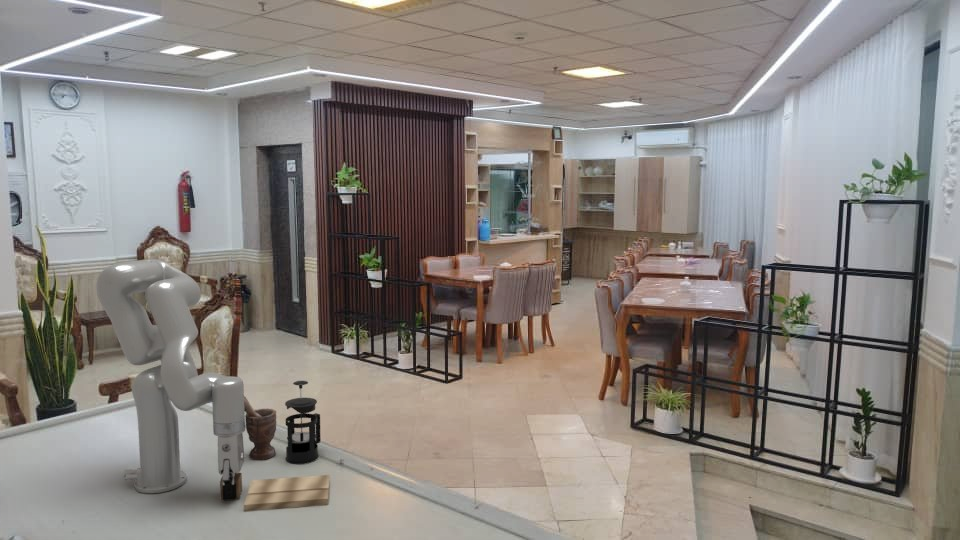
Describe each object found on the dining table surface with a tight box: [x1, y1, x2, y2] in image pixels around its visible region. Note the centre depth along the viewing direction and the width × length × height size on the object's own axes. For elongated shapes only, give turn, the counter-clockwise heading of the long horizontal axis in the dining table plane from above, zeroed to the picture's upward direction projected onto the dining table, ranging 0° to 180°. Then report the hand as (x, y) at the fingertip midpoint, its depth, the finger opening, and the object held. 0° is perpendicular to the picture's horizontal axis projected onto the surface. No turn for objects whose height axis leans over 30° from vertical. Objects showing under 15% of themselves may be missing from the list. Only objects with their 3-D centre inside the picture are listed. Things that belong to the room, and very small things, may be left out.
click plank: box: [247, 474, 330, 494], centre depth 173 cm, size 20×7×2 cm, turn 101°
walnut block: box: [219, 472, 243, 501], centre depth 170 cm, size 4×4×5 cm
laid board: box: [243, 487, 330, 512], centre depth 166 cm, size 20×6×2 cm, turn 101°
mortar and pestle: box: [244, 395, 277, 461], centre depth 193 cm, size 12×9×20 cm
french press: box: [284, 380, 322, 465], centre depth 194 cm, size 12×9×23 cm
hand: (231, 494), depth 170 cm, fingers closed on walnut block, 4 cm apart
